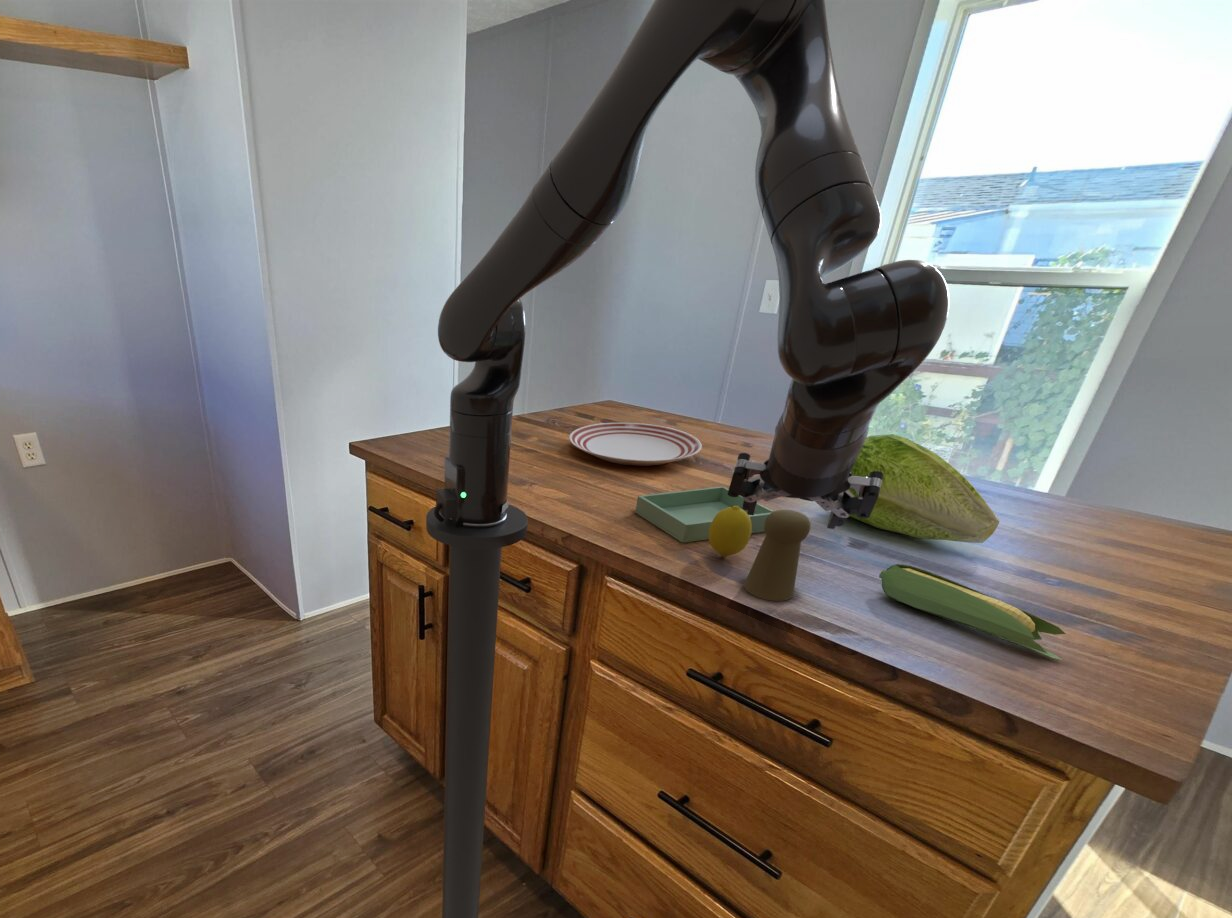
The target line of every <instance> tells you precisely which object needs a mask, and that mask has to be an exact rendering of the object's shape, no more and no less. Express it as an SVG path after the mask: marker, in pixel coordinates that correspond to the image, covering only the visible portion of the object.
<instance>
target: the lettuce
mask: <svg viewBox="0 0 1232 918" xmlns="http://www.w3.org/2000/svg"><path fill="white" fill-rule="evenodd" d="M873 471H879V472H882V473H883V474H884V475H883V479H882V484H881V488H880V492H879V496H878V498H877V501H876V503H875V506H874V508H873V510H872V513H871V515H870V517H869V518H859V517H857V514H850V515H849V517H850V518H852V519H855V520H857V521H859V522H862V523H864V524H867V525H869V526H871V527H873V528H875V529H878V530H882V531H887V532H891V533H897V534H901V535H906V536H908V537H913V538H916V539H919V540H934V541H935V540H936V541H938V540H939V541H952V542H958V543H959V542H960V543H968V544H969V543H970V544H971V543H975V544H982V543H985V542H986V541H987V540H988V539H989V538H990V537H992V535H993V534H994V533H995V531H996V530H997V529H998V527H999V524H1000V519H999V518H998V516H997V515H996V514H995V512H994V511H993V510H992V508H991V507H990V506H989V505H988V503H987V502H986V500H985V499H984V498H983V497H982V495H981V494H980V492H979V491H978V490H977V489H976V488H975V486H974V485H973V483H972V482H970V480H968V478H966V477H965V476H964V475H963V474H962V473H961V472H959V470H958V469H956V468H955V467H954V466H953V465H951V464H950V463H949V462H948V461H946V460H945V459H943V457H942V456H940V455H939V454H937V453H935V452H934V451H933V450H931V449H929V448H926V447H924V445H920V444H919V443H917V442H915V441H913V440H912V439H910V438H907V437H904V436H900V435H897V434H893V433H890V434H879V435H877V434H876V435H869V436H867V438H866V440H865V443H864V445H863V447H862V449H861V451H860V453H859V455H858V458H857V460H856V462H855V464H854V466H853V468H852V470H851V473H852V475H853V476H859V477H869V474H870V472H873ZM848 490H849V491H850V492H851V493H852V494H853V495H854V497H858V495H859V494H857V493H856V492H855V490H854V489H852V488H849V489H848Z"/></svg>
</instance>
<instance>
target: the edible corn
mask: <svg viewBox="0 0 1232 918" xmlns="http://www.w3.org/2000/svg"><path fill="white" fill-rule="evenodd" d="M878 578H879V579H881V587H882V588H881V589H882V590H883V593H884V594H885V595H886V596H887V597H888V598H889V599H891V600H894V601H896V602H898V603H900V604H902V605H906V606H909V607H911V608H913V609H917V610H919V611H921V612H925V613H928V614H931V615H934V616H937V617H939V618H943V619H946V620H949V621H951V622H954V623H957V624H960V625H962V626H965V627H968V628H971V629H973V630H976V631H979V632H982V633H985V634H988V635H990V636H993V637H996V638H999V639H1001V640H1004V641H1007V642H1010V643H1012V644H1014V645H1018V646H1020V647H1023V648H1025V649H1029V650H1030V651H1034V652H1035V653H1039V654H1042V655H1043V656H1047V657H1049V658H1053V659H1057V660H1062V661H1063V659H1062V658H1061V657H1060V656H1058V655H1056V654H1055V653H1052V652H1050V651H1048V650H1046V649H1045V648H1043V647H1042V645H1041V644H1039V643H1038V642H1037V641H1039V640H1040V641H1042V640H1043V639H1042V637H1041V635H1040V634H1039V633H1045V634H1049V635H1055V636H1056V635H1067V633H1066V632H1065V631H1064V630H1062V629H1061V628H1060V627H1059V626H1057V625H1056V624H1053V623H1051V622H1049V621H1047V620H1044V619H1042V618H1040V617H1038V616H1036V615H1035V614H1034V615H1033V614H1032V613H1029V612H1027V611H1025V610H1022V609H1020V608H1017V607H1015V606H1013V605H1011V604H1009V603H1007V602H1004V601H1003V600H1000V599H997V598H995V597H992V596H989V595H987V594H985V593H982V592H980V591H978V590H976V589H973V588H971V587H968V586H966V585H964V584H962V583H959V582H957V581H954V580H951V579H949V578H947V577H944V576H941V575H939V574H936V573H933V572H931V571H928V570H925V569H922V568H919V567H915V566H912V565H907V564H899V563H897V564H892V565H891V566H889V567H888V568H887V569H882V570H881V571H880V573H879V575H878Z"/></svg>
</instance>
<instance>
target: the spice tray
mask: <svg viewBox="0 0 1232 918" xmlns="http://www.w3.org/2000/svg"><path fill="white" fill-rule="evenodd" d="M728 490H729V488H728V487H726V486H724V485H721V486H713V487H704V488H696V489H687V490H679V491H669V492H661V493H659V492H658V493H652V494H642V495H637V499H636V505H635V511H634V512H635V514H637V515H638V516H639V517H641V518H643V519H645V520H646V521H648V522H649V523H651V524H652V525H653V526H655V527H657V528H659V529H660V530H662V531H664V532H665V533H666V534H668V535H669V536H671V537H673V538H674V539H676V540H677V541H679V542H680V543H683V544H684V543H693V542H700V541H706V540H709V529H710V526H711V523H712V521H713V519H714V517H715V516H716V515H717V514H718V513H719V512H720V511H721V510H723V509H726V508H729V507H733V506H739V508H740V509H742V510H744V509H743V508H742V507H743V502H744V498H743V497H742V496H740V495H739V496H738V497H730V496H729V495H728ZM744 511H745V512H746V513H748V511H747V510H744ZM773 511H774V510H773V509H771V508H769V507H767V506H765V505H762V504H761V503H759V502H757V505H756V508H755V512H754V515H749V517H750V519H751V525H752V530H751V534H756V533H765V530H764V523H765V520H766V518H767V516H768V515H769V514H771V513H772V512H773Z"/></svg>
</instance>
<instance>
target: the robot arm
mask: <svg viewBox="0 0 1232 918" xmlns="http://www.w3.org/2000/svg"><path fill="white" fill-rule="evenodd" d="M648 9H649V10H648V11H647V13H646V15H645V16H644V18H643V19H642V21H641V23H640V24H639V26H638V29H637V30H636V31H635V34H634V35H633V37H632V39H631V40H630V42H629V44H628V46H627V47H626V49H625V51H624V52H623V54H622V55H621V57H620V59H619V61H618V63H617V64H616V66H615V67H614V69H613V71H612V72H611V74H610V75H609V77H608V78H607V79H606V81H605V83H604V85H603V86H602V88H601V89H600V90H599V92H598V93H597V95H596V97H595V98H594V100H593V101H592V103H591V104H590V106H589V107H588V109H587V110H586V111H585V112H584V114H583V116H582V117H581V119H580V121H579V122H578V123H577V125H576V126H575V127H574V129H573V131H572V132H571V134H570V135H569V137H568V138H566V139H567V140H565V142H564V143H563V144H562V146H561V147H560V148H559V150H558V151H557V152H556V154H555V155H554V156H553V157H552V159H551V160H550V161H549V163H548V165H547V166H546V167H545V169H544V171H543V172H542V173H541V175H540V176H539V178H538V179H537V181H536V182H535V184H534V185H533V187H532V188H531V190H530V191H529V193H528V194H527V196H526V198H525V199H524V201H523V202H522V204H521V205H520V206H519V208H518V210H517V211H516V212H515V213H514V215H513V216H512V217H511V219H510V220H509V222H507V225H506V226H505V227H504V228H503V230H502V231H501V233H500V234H499V236H498V237H497V238H496V240H495V241H494V243H493V244H492V245H491V247H490V248H489V249H488V251H487V252H486V253H485V254H484V256H483V257H482V258H481V259H480V260H479V262H478V263H477V264H476V265H475V266H474V267H473V269H471V270H470V272H469V273H468V274H467V275H466V276H465V278H463V280H462V281H461V282H460V283H459V284H458V286H457V287H455V289H454V290H453V291H452V293H451V294H450V295H449V296H448V298H447V299H446V300H445V302H444V305H443V307H442V309H441V311H440V314H439V318H438V324H437V338H438V339H437V340H438V343H439V346H440V349H441V350H442V352H443V354H445V355H446V356H447V357H449V359H452V360H454V361H457V362H461V363H474V366H473V369H472V370H471V371H470V373H468V375H467V376H466V377H465V378H464V379H463V380H461V381H460V382H458V383H457V384H456V385H455V386H454V387H453V388H452V389H451V392H450V396H449V397H450V398H449V442H448V443H449V450H448V451H449V452H448V455H447V456H445V457H444V487H443V488H439V489H436V490H435V506H436V507H435V506H434V507H435V509H434V515H435V517H436V518H437V519H438V520H439V521H440V522H443V521H444V519H443V517H442V516H441V515H440V514H439V511H440V512H441V514H442V515H443V516H444V517H445V518H446V519H449V520H450V521H451V522H452V524H453V525H454V526H455V527H468V528H490V527H495V526H498V525H500V524H502V523H504V522H505V521H506V516H507V513H506V510H507V508H508V504H509V505H510V503H509V501H510V500H508V489H509V476H510V475H509V473H510V460H511V459H510V455H511V443H512V441H511V440H512V427H513V414H514V413H513V411H514V401H515V398H516V395H517V394H518V391H519V390H520V389H519V388H520V384H521V378H522V371H523V370H522V368H523V361H524V354H525V353H524V352H525V346H526V345H525V344H526V334H527V331H526V330H527V319H526V312H525V307H524V304H523V302H522V300H521V298H522V297H523V296H525V295H526V294H527V293H529V292H531V291H532V290H534V289H535V288H537V287H538V286H540V285H541V284H543V283H545V282H546V281H549V279H551V278H552V277H554V276H556V275H558V274H559V273H560V272H562V271H563V270H564V269H566V268H568V267H569V266H570V265H572V264H574V263H575V262H576V261H577V260H578V259H580V258H581V257H582V256H584V254H585V253H587V252H588V250H590V249H591V247H593V246H594V245H595V243H596V242H597V241H598V240H599V239H600V238H601V236H602V235H603V234H604V233H605V232H606V231H607V229H608V228H609V227H610V226H611V225H613V223H614V221H615V220H616V219H617V218H618V217H619V215H620V214H621V213H622V211H623V210H624V209H625V207H626V206H627V204H628V201H629V199H630V198H631V195H632V192H633V190H634V187H635V183H636V180H637V176H638V173H639V172H638V171H639V168H640V163H641V160H642V159H641V158H642V153H643V149H644V145H645V141H646V136H647V132H648V130H649V126H650V125H651V122H652V120H653V118H654V116H655V114H656V112H657V111H658V109H659V107H660V106H661V105H662V103H663V102H664V101H665V99H666V98H667V96H668V95H669V93H670V92H671V91H672V90H673V88H674V86H675V85H676V84H677V82H678V81H679V80H680V78H681V77H682V76H683V75H684V73H686V71H687V70H688V69H689V68H690V67H691V66H692V65H693V64H694V63H695V62H696V61H697V60H700V61H702V62H703V63H705V64H707V65H708V66H711V67H713V68H715V69H716V70H718V71H720V72H722V73H723V74H724V73H725V74H727V75H730V76H731V75H733V76H734V77H735V78H736V79H737V81H738V82H739V83H740V84H741V86H742V88H743V89H744V91H745V92H746V94H747V95H748V97H749V98H750V101H751V102H752V104H753V106H754V108H755V111H756V114H757V116H758V120H759V124H760V139H759V144H758V149H757V154H756V158H755V159H756V160H755V167H754V168H755V169H754V183H755V191H756V196H757V201H758V204H759V209H760V213H761V216H762V219H763V221H764V225H765V227H766V228H765V229H766V231H767V234H768V238H769V241H770V244H771V246H772V250H773V253H774V257H775V262H776V263H775V264H776V267H777V277H778V279H777V280H778V294H779V295H778V296H779V297H778V299H779V301H778V306H779V307H778V321H777V337H776V339H777V354H778V355H777V356H778V360H779V362H780V365H781V367H782V369H783V370H784V372H785V373H786V374H787V375H788V376H789V377H790V378H791V381H790V384H789V386H788V391H787V394H786V398H785V403H784V406H783V410H782V413H781V415H780V416H779V419H778V421H777V423H776V426H775V427H774V428H775V430H774V435H773V440H772V444H771V448H770V453H769V455H768V456H769V457H768V459H766V460H765V461H763V462H759V461H753V460H751V455H750V454H749V453H746V452H741V453H738V456H737V460H736V463H735V465H734V470H733V473H732V477H731V480H730V484H729V486H728V487H729V488H728V489H729V490H728V495H729V496H730V497H738V496H739V495H740V496H742V497H743V498H744V502H743V507H742V508H743V509H744V510H747V511H748V513H747V514H748V515H754V512H755V508H756V505H757V503H758V501H761V500H762V501H764V502H768V501H772V500H775V499H778V498H781V497H783V498H787V499H788V498H789V499H799V500H802V501H806V502H807V501H808V502H814V503H816V504H817V505H818V506H820V507H821V509H823V510H824V511H825V512H829V511H830V514H829V518H828V522H827V526H826V529H829V530H835V528H836V527H842V526H844V524H845V522H846V520H847V518H849V517H850V516H849V515H850V514H857V517H859V518H869V517H870V515H871V513H872V510H873V508H874V506H875V503H876V501H877V498H878V496H879V492H880V488H881V484H882V479H883V475H884V474H883V473H882V472H879V471H873V472H870V474H869V477H859V476H853V475H852V473H851V470H852V468H853V466H854V464H855V462H856V460H857V458H858V455H859V453H860V451H861V449H862V447H863V445H864V443H865V440H866V438H867V437H868V435H869V428H870V425H871V423H872V420H873V418H874V416H875V414H876V412H877V409H878V407H879V404H881V403H882V402H883V401H884V400H885V399H887V398H888V397H889V396H890V395H892V393H893V392H894V391H895V390H896V389H897V388H898V387H899V386H901V385H902V384H903V382H904V381H905V380H907V379H908V378H909V377H910V376H911V375H912V374H913V373H914V372H915V371H916V370H917V369H918V367H920V366H921V365H922V363H923V362H924V361H925V360H926V359H927V358H928V357H929V355H930V354H931V353H932V351H933V349H934V348H935V346H936V345H937V344H938V342H939V340H940V338H941V336H942V334H943V331H944V329H945V326H946V324H947V320H948V316H949V312H950V311H949V310H950V292H949V287H948V284H947V282H946V280H945V278H944V276H943V275H942V273H941V272H940V271H939V270H938V269H937V267H934V266H933V264H931V263H928V262H926V261H923V260H919V259H904V260H897V261H893V262H890V263H886V264H883V265H881V266H877V267H874V268H872V269H868V270H865V271H861V272H859V273H856V274H853V275H852V274H851V275H849V276H846V277H843V278H840V279H837V280H834V281H833V280H832V281H831V282H827V283H825V282H824V281H823V279H824V278H826V277H827V276H828V275H832V273H834V272H835V271H837V270H839V269H841V268H843V267H844V266H846V265H847V264H849V263H850V262H852V261H854V260H856V259H857V258H858V257H859V256H860V255H862V254H863V253H864V252H865V251H866V250H868V249H869V247H870V246H871V245H872V244H873V243H874V241H875V240H876V238H877V236H878V234H879V232H880V230H881V227H882V213H881V208H880V205H879V202H878V198H877V196H876V194H875V191H874V188H873V185H872V183H871V179H870V177H869V173H868V172H867V169H866V166H865V164H864V160H863V158H862V156H861V153H860V151H859V148H858V145H857V143H856V139H855V138H854V137H855V136H854V135H853V132H852V128H851V126H850V124H849V121H848V118H847V115H846V112H845V108H844V104H843V101H842V97H841V93H840V89H839V85H838V81H837V75H836V70H835V65H834V58H833V52H832V48H831V47H832V46H831V42H830V41H831V40H830V35H829V28H828V26H829V25H828V20H827V19H828V18H827V11H826V10H827V9H826V0H653V2H652V4H651V5H650V7H649V8H648ZM755 475H758V476H756V477H754V476H755ZM752 477H753V478H752ZM849 488H852V489H854V490H855V492H856V493H857V494H859V495H858V497H854V495H853V494H852V493H851V492H850V491H849V490H848V489H849Z"/></svg>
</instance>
